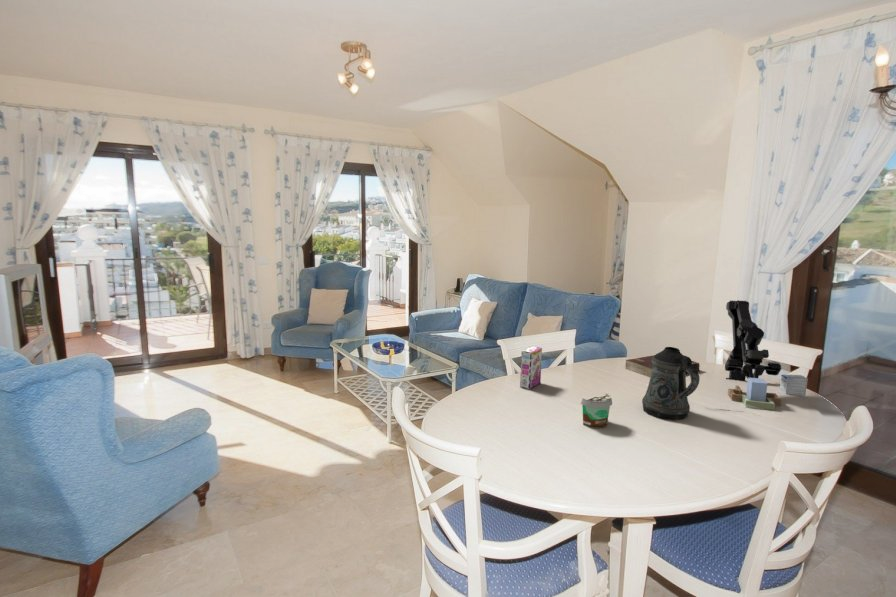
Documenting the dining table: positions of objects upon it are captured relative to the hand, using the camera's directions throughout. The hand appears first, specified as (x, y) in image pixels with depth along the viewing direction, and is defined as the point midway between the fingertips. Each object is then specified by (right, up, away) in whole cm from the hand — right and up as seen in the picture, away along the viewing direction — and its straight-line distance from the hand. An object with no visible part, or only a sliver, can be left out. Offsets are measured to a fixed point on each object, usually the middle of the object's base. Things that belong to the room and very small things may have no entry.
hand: (754, 385), depth 190 cm
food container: (-68, -11, -20) cm, 72 cm away
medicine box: (+22, -6, +10) cm, 24 cm away
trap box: (0, -7, +1) cm, 7 cm away
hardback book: (-17, -1, +45) cm, 48 cm away
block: (-1, -6, -2) cm, 7 cm away
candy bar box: (-85, -4, +22) cm, 88 cm away
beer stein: (-38, -9, -9) cm, 40 cm away
